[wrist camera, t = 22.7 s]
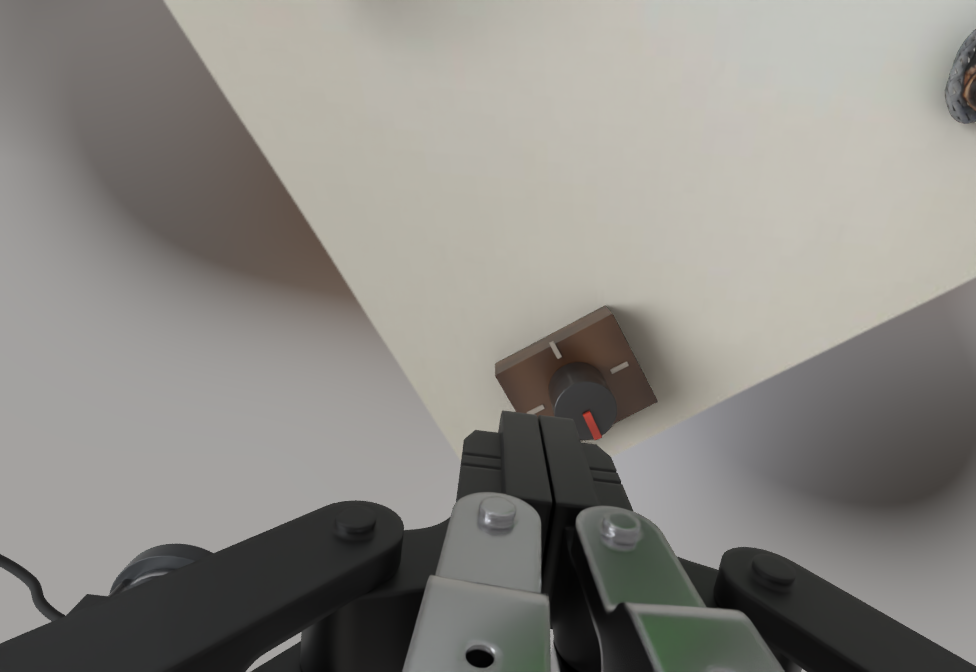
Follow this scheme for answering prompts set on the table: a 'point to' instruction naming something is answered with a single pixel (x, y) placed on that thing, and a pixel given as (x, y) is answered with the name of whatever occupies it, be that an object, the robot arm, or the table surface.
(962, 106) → the brown animal figurine
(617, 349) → the panel
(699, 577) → the robot arm
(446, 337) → the table surface
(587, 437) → the lock knob
